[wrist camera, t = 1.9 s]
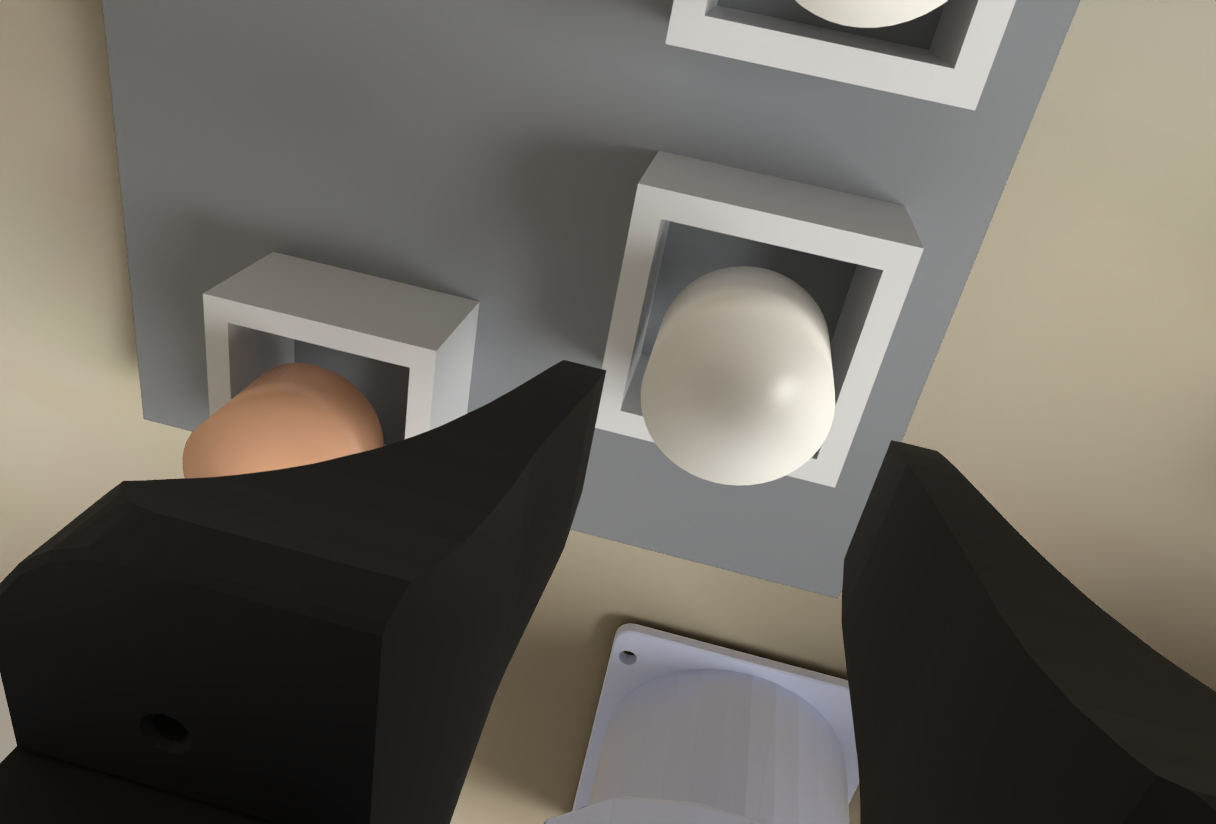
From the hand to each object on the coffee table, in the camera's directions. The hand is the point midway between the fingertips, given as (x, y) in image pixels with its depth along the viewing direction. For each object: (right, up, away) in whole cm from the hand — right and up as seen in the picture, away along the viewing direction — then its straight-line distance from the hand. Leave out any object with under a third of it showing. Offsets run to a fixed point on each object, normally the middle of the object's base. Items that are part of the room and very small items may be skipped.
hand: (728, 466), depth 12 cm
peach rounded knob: (-8, 0, +6) cm, 10 cm away
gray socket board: (-3, +7, +7) cm, 10 cm away
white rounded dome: (+1, +2, +4) cm, 4 cm away
